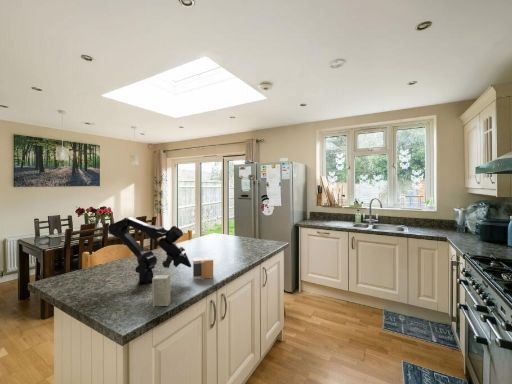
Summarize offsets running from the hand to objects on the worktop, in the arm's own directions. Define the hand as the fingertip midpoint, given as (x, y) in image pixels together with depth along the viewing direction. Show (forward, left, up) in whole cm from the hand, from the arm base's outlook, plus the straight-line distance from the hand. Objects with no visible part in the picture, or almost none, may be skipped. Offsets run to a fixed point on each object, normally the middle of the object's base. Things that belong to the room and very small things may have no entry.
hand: (190, 266), depth 130 cm
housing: (+7, +4, -8) cm, 11 cm away
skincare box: (-18, -20, -8) cm, 28 cm away
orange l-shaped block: (+9, -2, -7) cm, 11 cm away
